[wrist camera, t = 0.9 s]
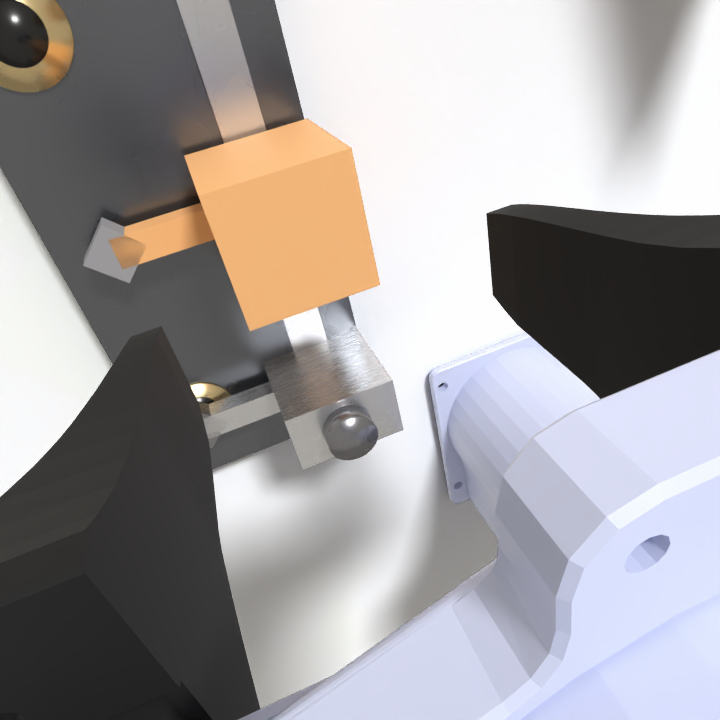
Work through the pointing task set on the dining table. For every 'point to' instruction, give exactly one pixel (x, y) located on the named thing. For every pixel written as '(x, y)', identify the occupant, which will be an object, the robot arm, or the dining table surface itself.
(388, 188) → the dining table surface
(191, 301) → the bolt plate
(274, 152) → the orange block with rod
